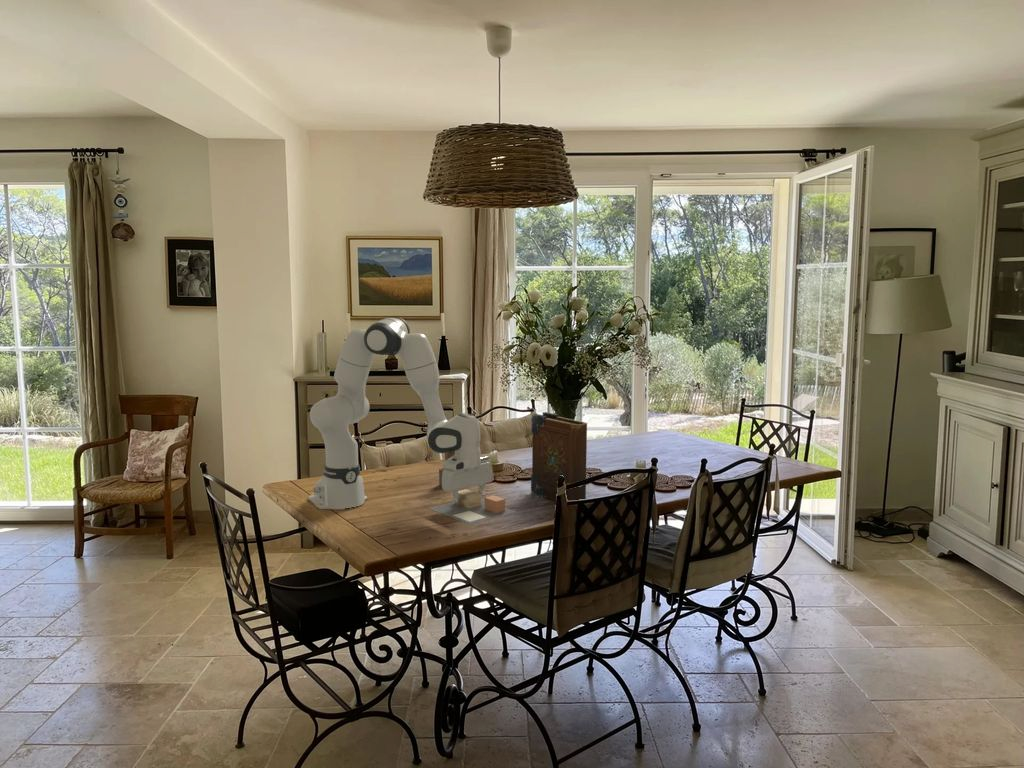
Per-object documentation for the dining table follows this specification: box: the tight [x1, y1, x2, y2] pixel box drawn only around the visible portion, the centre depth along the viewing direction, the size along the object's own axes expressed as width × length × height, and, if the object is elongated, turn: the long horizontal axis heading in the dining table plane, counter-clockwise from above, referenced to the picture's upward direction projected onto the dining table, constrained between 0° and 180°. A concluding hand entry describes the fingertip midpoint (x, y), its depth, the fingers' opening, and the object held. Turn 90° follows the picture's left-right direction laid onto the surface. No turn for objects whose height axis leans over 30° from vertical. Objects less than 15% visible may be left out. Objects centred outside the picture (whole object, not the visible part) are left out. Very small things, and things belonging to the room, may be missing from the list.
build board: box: [428, 499, 517, 525], centre depth 254 cm, size 23×20×2 cm
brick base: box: [454, 488, 482, 508], centre depth 260 cm, size 8×5×4 cm, turn 42°
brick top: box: [484, 495, 506, 513], centre depth 254 cm, size 6×4×4 cm, turn 42°
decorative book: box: [530, 411, 588, 501], centre depth 270 cm, size 23×7×30 cm, turn 39°
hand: (468, 499), depth 259 cm, fingers open, 8 cm apart
